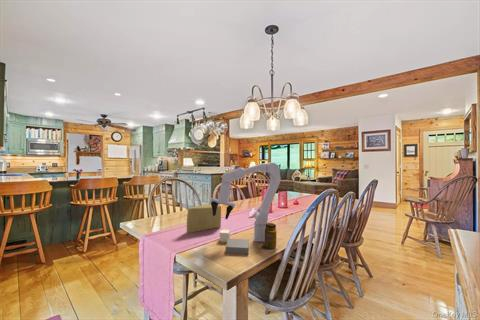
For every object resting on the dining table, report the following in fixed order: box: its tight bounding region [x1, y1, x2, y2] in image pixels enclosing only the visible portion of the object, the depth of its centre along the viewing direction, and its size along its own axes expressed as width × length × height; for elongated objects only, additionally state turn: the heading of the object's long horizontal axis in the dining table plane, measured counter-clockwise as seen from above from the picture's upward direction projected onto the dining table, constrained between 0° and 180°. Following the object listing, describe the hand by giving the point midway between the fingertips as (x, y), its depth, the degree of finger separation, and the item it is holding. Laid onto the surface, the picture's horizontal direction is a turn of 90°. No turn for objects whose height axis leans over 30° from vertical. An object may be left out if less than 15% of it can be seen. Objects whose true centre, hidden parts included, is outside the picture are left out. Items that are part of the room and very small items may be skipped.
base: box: [225, 238, 250, 255], centre depth 112 cm, size 11×11×3 cm
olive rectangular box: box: [186, 203, 222, 234], centre depth 141 cm, size 22×10×15 cm, turn 130°
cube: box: [219, 229, 231, 243], centre depth 123 cm, size 5×5×5 cm
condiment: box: [258, 222, 280, 253], centre depth 114 cm, size 7×8×12 cm
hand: (220, 217), depth 124 cm, fingers open, 7 cm apart
